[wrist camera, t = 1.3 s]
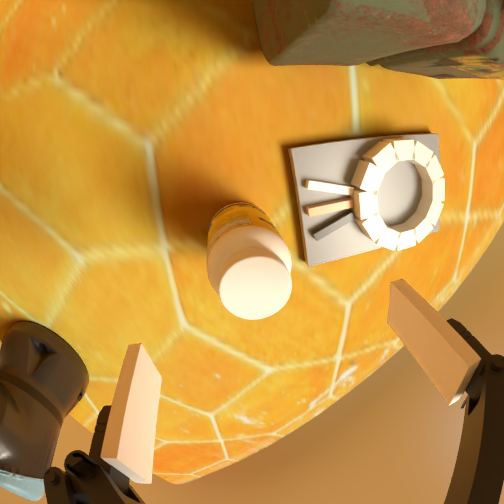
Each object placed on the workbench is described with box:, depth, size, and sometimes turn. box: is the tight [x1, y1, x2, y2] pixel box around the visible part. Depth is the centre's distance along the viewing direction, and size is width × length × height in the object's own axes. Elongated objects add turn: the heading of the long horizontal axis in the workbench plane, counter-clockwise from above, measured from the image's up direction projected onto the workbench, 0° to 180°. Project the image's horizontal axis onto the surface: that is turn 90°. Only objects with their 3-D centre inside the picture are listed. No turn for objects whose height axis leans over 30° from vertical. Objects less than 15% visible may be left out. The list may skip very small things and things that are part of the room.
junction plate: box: [288, 133, 445, 267], centre depth 26 cm, size 18×12×3 cm, turn 102°
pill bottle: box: [207, 203, 292, 319], centre depth 23 cm, size 6×6×11 cm
